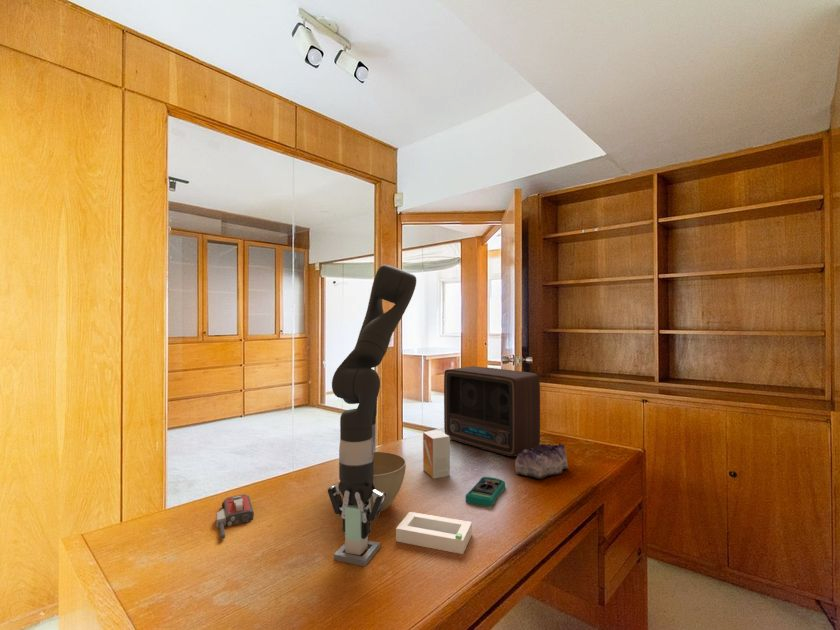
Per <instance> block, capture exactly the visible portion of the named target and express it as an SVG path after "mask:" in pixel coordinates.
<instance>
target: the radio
mask: <svg viewBox="0 0 840 630" xmlns="http://www.w3.org/2000/svg"><path fill="white" fill-rule="evenodd" d="M443 375H444V376H443V416H444V417H443V421H444V423H443V425H444V426H443V427H444V430H443V431H444V433H445V434H446V435H448V436H449V437H450V440H453V441H456V442H459V443H461V444H465V445H469V446H473V447H475V448H479V449H483V450H485V451H489V452H492V453H497V454H499V455H503V456H507V457H513V458H514V457H517V456H518V454H520V453H522V452H523V450H525V449H527V450H528V449H529V448H530V449H531V448H534V447H537V446H539V445H541V443H540V442H541V383H540V377H539V375H538V374H537V373H535V372H534V373H533V372H528V371H522V370H521V371H520V370H512V369H505V368H503V369H502V368H494V367H485V366H473V365H472V366H463V367H458V368H450V369H446V370H445V371H444V374H443Z"/></svg>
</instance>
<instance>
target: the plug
mask: <svg viewBox="0 0 840 630" xmlns="http://www.w3.org/2000/svg"><path fill="white" fill-rule="evenodd" d="M364 505H365V504H364ZM361 522H362V518H361V512H360V509H358V506H357V505H349V506H348V507H345V534H344V537H345V539H344V544H345V552H346V553H347V554H352V555H356V556H361V555H362V554H363V553H364V552H365V550H367V549H366V548H367V547H368V541H369V540H368V539H369V538H368V537H369V535H368V536H367V537H366V538H365V539H362V538H361Z"/></svg>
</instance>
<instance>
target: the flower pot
mask: <svg viewBox="0 0 840 630" xmlns="http://www.w3.org/2000/svg"><path fill="white" fill-rule="evenodd" d="M373 453H374V458H373V463H374V477H373V484H374V486H375V490H377V491H378V492H380V493H382V492H385V493H386V497H385V500H384V503H383V505H382V508H381V511H380V513H381V512H383V511H385V510H387V509H388V508H389V507H390V506H391V504H392V503H393V502H394V501H395V499H396V497H397V496H398V494H399V492H400V490H401V488H402V485H403V482H404V478H405V473H406V465H407V463H406V462H407V461H406V459H405V458H404V457H403V456H401V455H399V454H398V453H392V452H388V451H387V452H386V451H376V452H373ZM370 503H371V507H370V509H371V511H372V509H373V506H374V503H375V502H373V495H372V496H371V497H370Z"/></svg>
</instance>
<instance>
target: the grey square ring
mask: <svg viewBox="0 0 840 630" xmlns="http://www.w3.org/2000/svg"><path fill="white" fill-rule="evenodd" d="M380 549H381V543H380V542H378V541H372V540H368V547H367V548H366V549H365V550H367V551H366V552H365V553H364V554H363V555H362V556H361V555H360V556H359V555H355V554H350V553H346V552H345V543H343V545H342V546H341V547H340V548H339V549H338V550H336V552H334V554H333V561H338V562H342V563H346V564H351V565H355V566H361V567H366V566H367V564H369V562H370V561H371V560H372V559H373V557H375V555H376V554H377V552H378V551H379V550H380Z"/></svg>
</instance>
